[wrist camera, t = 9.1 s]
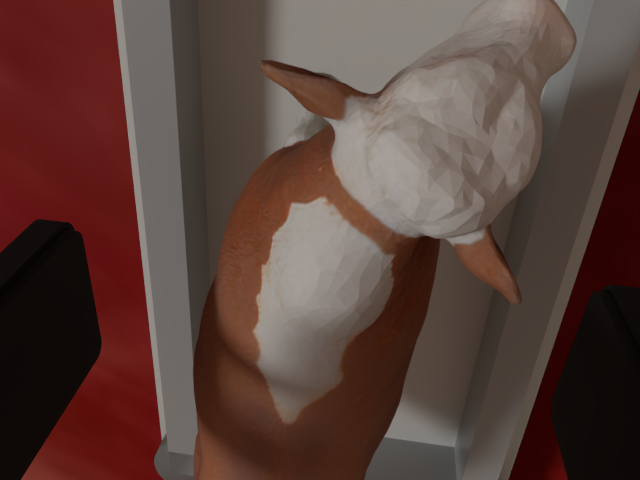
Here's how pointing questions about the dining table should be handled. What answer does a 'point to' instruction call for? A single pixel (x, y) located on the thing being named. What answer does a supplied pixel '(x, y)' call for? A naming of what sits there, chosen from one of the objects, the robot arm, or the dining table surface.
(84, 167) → the dining table surface
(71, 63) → the dining table surface
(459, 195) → the bull figurine
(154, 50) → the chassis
